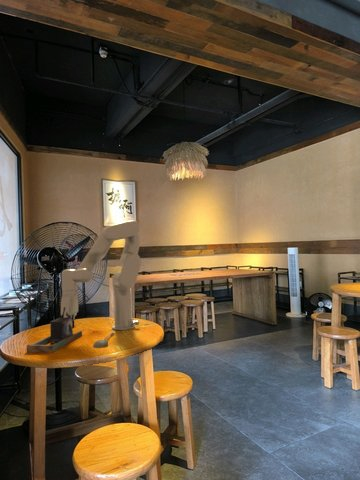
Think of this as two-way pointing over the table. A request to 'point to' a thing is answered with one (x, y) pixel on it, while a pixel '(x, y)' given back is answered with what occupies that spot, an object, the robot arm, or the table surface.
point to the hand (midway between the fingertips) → (70, 328)
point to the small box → (61, 329)
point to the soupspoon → (102, 342)
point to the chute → (43, 348)
